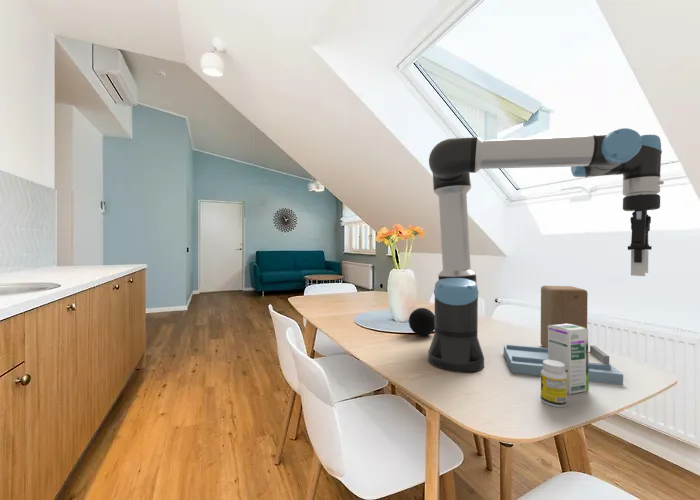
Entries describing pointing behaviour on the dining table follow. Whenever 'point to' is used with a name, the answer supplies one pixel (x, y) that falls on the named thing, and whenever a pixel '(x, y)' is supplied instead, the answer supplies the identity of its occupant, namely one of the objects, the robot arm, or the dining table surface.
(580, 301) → the wooden block
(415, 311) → the decorative ball
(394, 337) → the dining table surface
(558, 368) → the supplement bottle
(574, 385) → the syrup box
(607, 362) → the cover
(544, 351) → the compartment tray
